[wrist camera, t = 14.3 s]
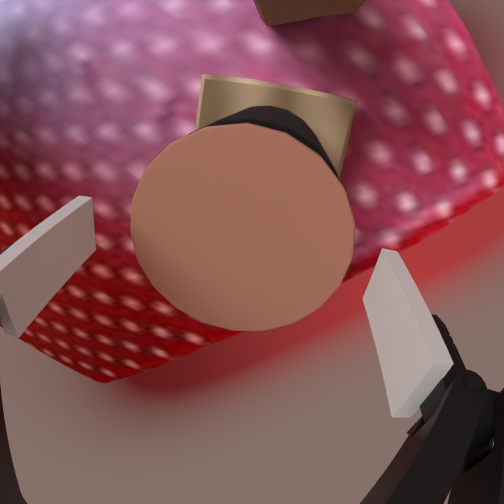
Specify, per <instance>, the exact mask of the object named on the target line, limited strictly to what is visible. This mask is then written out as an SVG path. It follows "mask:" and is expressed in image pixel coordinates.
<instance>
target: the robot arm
mask: <svg viewBox="0 0 504 504" xmlns="http://www.w3.org/2000/svg"><path fill="white" fill-rule="evenodd" d="M95 250H96V243H95V231H94V218H93V202H92V197H85V196H78V197H76V198H75V199H74V200H72V201H71V202H69V203H68V204H66V205H65V206H63V207H62V208H61V209H59V210H58V211H56V212H55V213H53V214H52V215H51V216H49V217H48V218H47V219H45V220H44V221H43V222H41V223H40V224H38V225H37V226H36V227H34V228H33V229H32V230H31V231H29V232H28V233H27V234H25V235H24V236H23V237H22V238H20V239H19V240H18V241H16V242H14V243H12V244H10V245H9V246H8V247H6V248H5V249H4V250H3V252H0V321H1V323H2V326H3V328H4V331H5V332H6V333H8V334H10V335H13V336H15V337H17V338H19V337H20V336H21V335H22V333H23V332H24V331H25V330H26V328H27V327H28V326H29V325H30V323H31V322H32V321H33V320H34V318H35V317H36V316H37V315H38V314H39V312H40V311H41V310H42V309H43V308H44V306H45V305H46V304H47V303H48V302H49V301H50V299H51V298H52V297H53V296H54V295H55V294H56V293H57V291H58V290H59V289H60V288H61V287H62V286H63V285H64V283H65V282H66V281H67V280H68V279H69V278H70V277H71V276H72V275H73V274H74V272H75V271H76V270H77V269H78V268H79V267H80V266H81V265H82V264H83V263H84V262H85V261H86V260H87V259H88V257H89V256H90V255H91V254H92V253H93V252H94V251H95ZM363 302H364V306H365V309H366V313H367V316H368V320H369V323H370V327H371V331H372V335H373V338H374V342H375V346H376V350H377V354H378V358H379V361H380V366H381V370H382V374H383V378H384V383H385V387H386V392H387V396H388V400H389V406H390V410H391V415H392V417H411V416H412V415H413V414H414V413H415V412H416V411H417V410H418V408H419V407H420V409H421V413H422V417H421V418H420V419H419V420H418V421H417V422H416V423H415V424H414V425H413V426H412V427H411V429H410V430H409V431H408V432H407V434H409V436H408V437H407V439H406V441H405V442H404V444H403V445H402V447H401V448H400V450H399V451H398V453H397V454H396V456H395V457H394V459H393V460H392V462H391V463H390V465H389V466H388V467H387V469H386V470H385V472H384V473H383V475H382V476H381V477H380V478H379V480H378V481H377V482H376V484H375V485H374V486H373V488H372V489H371V490H370V492H369V493H368V494H367V495H366V497H365V498H364V499H363V500H362V502H361V503H360V504H443V503H444V501H445V499H446V498H447V495H448V494H449V492H450V496H449V500H448V504H504V388H503V390H502V391H501V392H500V393H499V392H496V391H493V390H490V389H487V387H486V384H485V382H484V381H483V379H482V378H481V377H480V376H479V375H478V374H477V373H475V372H473V371H471V370H466V368H465V366H464V363H463V361H462V359H461V357H460V355H459V353H458V350H457V348H456V346H455V344H453V340H452V338H451V336H449V332H448V330H447V328H446V326H445V324H444V323H443V322H442V321H441V320H440V318H439V317H438V316H437V315H433V314H431V313H430V311H429V310H428V307H427V306H426V303H425V301H424V299H423V298H422V296H421V294H420V292H419V290H418V288H417V286H416V284H415V282H414V280H413V279H412V277H411V275H410V273H409V271H408V269H407V268H406V266H405V264H404V262H403V261H402V259H401V257H400V255H399V253H398V252H397V251H393V250H388V249H384V248H382V250H381V253H380V255H379V258H378V261H377V263H376V266H375V269H374V271H373V274H372V276H371V279H370V281H369V284H368V286H367V289H366V291H365V294H364V296H363ZM493 442H494V446H493V448H492V445H493ZM450 490H451V491H450ZM0 504H27V503H26V501H25V500H24V498H23V496H22V494H21V492H20V489H19V485H18V481H17V478H16V474H15V470H14V466H13V462H12V457H11V453H10V448H9V443H8V438H7V432H6V426H5V421H4V413H3V405H2V397H1V387H0Z"/></svg>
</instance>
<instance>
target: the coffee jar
mask: <svg viewBox="0 0 504 504" xmlns="http://www.w3.org/2000/svg"><path fill="white" fill-rule="evenodd" d="M130 233H131V237H132V241H133V245H134V249H135V253H136V256H137V260H138V262H139V264H140V265H141V267H142V269H143V270H144V272H145V274H146V275H147V277H148V279H149V280H150V282H151V283H152V285H153V287H154V288H155V289H156V290H158V291H159V292H160V293H161V294H162V295H163V296H164V297H165V298H166V299H167V300H168V301H169V302H170V303H171V304H172V305H173V306H175V307H176V308H177V309H179V310H181V311H183V312H184V313H186V314H188V315H190V316H192V317H194V318H195V319H197V320H199V321H201V322H203V323H207V324H210V325H214V326H218V327H221V328H225V329H229V330H239V331H264V330H269V329H273V328H277V327H281V326H285V325H289V324H292V323H294V322H296V321H298V320H300V319H301V318H303V317H305V316H307V315H308V314H310V313H312V312H314V311H316V310H317V309H319V308H320V307H321V306H322V305H323V304H324V303H325V302H326V301H327V299H328V298H329V297H330V296H331V295H332V294H333V293H334V292H335V291H336V290H337V289H338V288H339V287H340V285H341V282H342V280H343V278H344V276H345V274H346V271H347V269H348V267H349V265H350V262H351V260H352V258H353V250H354V236H355V220H354V217H353V213H352V210H351V206H350V203H349V200H348V196H347V193H346V190H345V188H344V186H343V185H342V183H341V182H340V180H339V177H338V174H337V172H336V170H335V168H334V166H333V164H332V163H331V161H330V159H329V157H328V155H327V154H326V152H325V150H324V148H323V147H322V145H321V143H320V141H319V140H318V138H317V136H316V135H315V133H314V132H313V131H312V130H311V128H310V127H309V126H308V125H307V123H306V122H305V121H304V120H303V119H301V118H300V117H298V116H297V115H295V114H293V113H292V112H290V111H289V110H286V109H282V108H278V107H274V106H270V105H268V106H252V107H249V108H246V109H244V110H241V111H239V112H236V113H234V114H232V115H229V116H227V117H225V118H222V119H220V120H218V121H216V122H213V123H211V124H209V125H207V126H204V127H202V128H200V129H198V130H196V131H194V132H192V133H189V134H188V135H186V136H184V137H182V138H180V139H178V140H176V141H174V142H172V143H170V144H169V145H168V146H167V147H166V148H165V149H164V150H163V151H162V152H161V153H160V154H159V155H158V156H157V157H156V158H155V159H154V160H153V161H152V162H151V163H150V164H149V165H148V167H147V168H146V169H145V171H144V173H143V176H142V178H141V180H140V182H139V184H138V187H137V189H136V191H135V194H134V196H133V198H132V207H131V222H130Z"/></svg>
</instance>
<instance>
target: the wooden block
mask: <svg viewBox="0 0 504 504" xmlns="http://www.w3.org/2000/svg"><path fill="white" fill-rule="evenodd" d="M363 2H364V0H254V3H255V5H256V7H257V10H258V12H259V15H260V17H261V19H262V21H263V22H264V23H265V24H266V25H272V26H275V25H279V24H284V23H289V22H294V21H300V20H306V19H312V18H318V17H325V16H332V15H340V14H350V13H352V12H354V11H356V10H357V8H358V7H359V6H360V5H361V4H362V3H363Z"/></svg>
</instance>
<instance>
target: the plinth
mask: <svg viewBox="0 0 504 504" xmlns="http://www.w3.org/2000/svg"><path fill="white" fill-rule="evenodd" d="M356 103H357V101H356V100H352V99H348V98H344V97H340V96H336V95H332V94H328V93H324V92H319V91H314V90H310V89H305V88H300V87H295V86H289V85H284V84H278V83H272V82H266V81H259V80H252V79H245V78H237V77H228V76H219V75H208V74H202V81H201V89H200V96H199V104H198V112H197V120H196V128H195V131H196V130H198V129H200V128H202V127H204V126H207V125H209V124H211V123H213V122H216V121H218V120H220V119H222V118H225V117H227V116H229V115H232V114H234V113H236V112H239V111H241V110H244V109H246V108H249V107H252V106H268V105H270V106H274V107H278V108H282V109H286V110H289V111H290V112H292V113H293V114H295V115H297V116H298V117H300V118H301V119H303V120H304V121H305V122H306V123H307V125H308V126H309V127H310V128H311V130H312V131H313V132H314V133H315V135H316V136H317V138H318V140H319V141H320V143H321V145H322V147H323V148H324V150H325V152H326V154H327V155H328V157H329V159H330V161H331V163H332V164H333V166H334V168H335V170H336V172H337V174H338V177H339V178H340V174H341V170H342V166H343V162H344V157H345V153H346V149H347V145H348V140H349V136H350V131H351V127H352V122H353V117H354V113H355V108H356Z"/></svg>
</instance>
